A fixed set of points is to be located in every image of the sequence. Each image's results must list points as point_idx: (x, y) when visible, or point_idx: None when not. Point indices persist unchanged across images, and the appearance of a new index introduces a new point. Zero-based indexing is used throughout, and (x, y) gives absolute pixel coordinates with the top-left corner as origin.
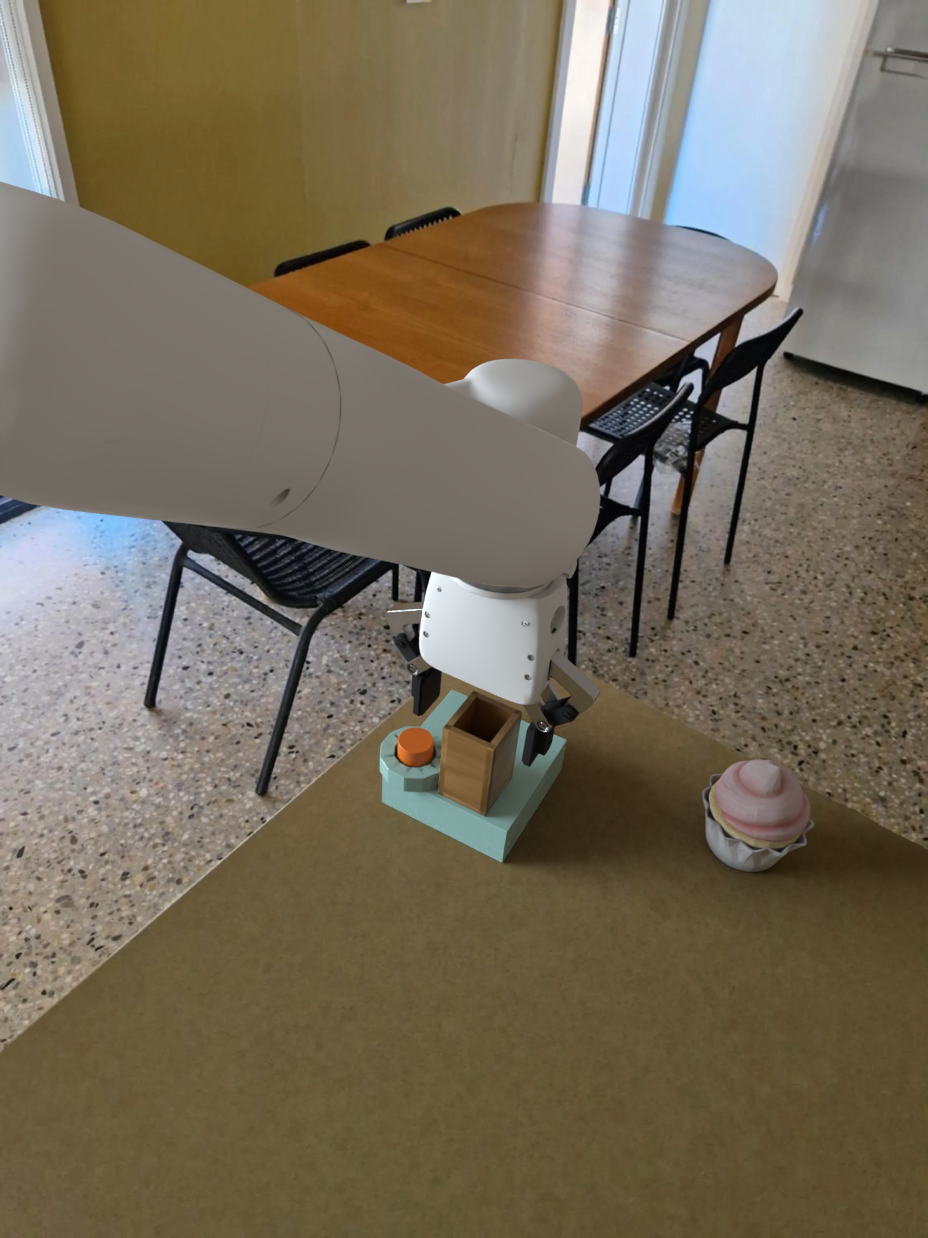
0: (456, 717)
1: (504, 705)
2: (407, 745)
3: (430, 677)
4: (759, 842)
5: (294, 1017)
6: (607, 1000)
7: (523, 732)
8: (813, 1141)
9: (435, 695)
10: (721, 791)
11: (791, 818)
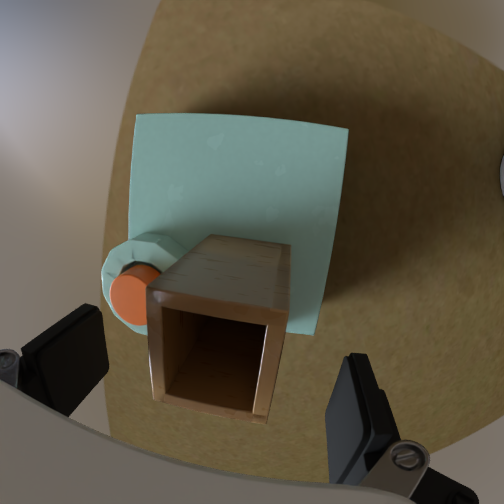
0: (159, 374)
1: (236, 309)
2: (128, 314)
3: (58, 398)
4: None
5: (211, 447)
6: (422, 381)
7: (275, 142)
8: None
9: (94, 334)
10: None
11: None
